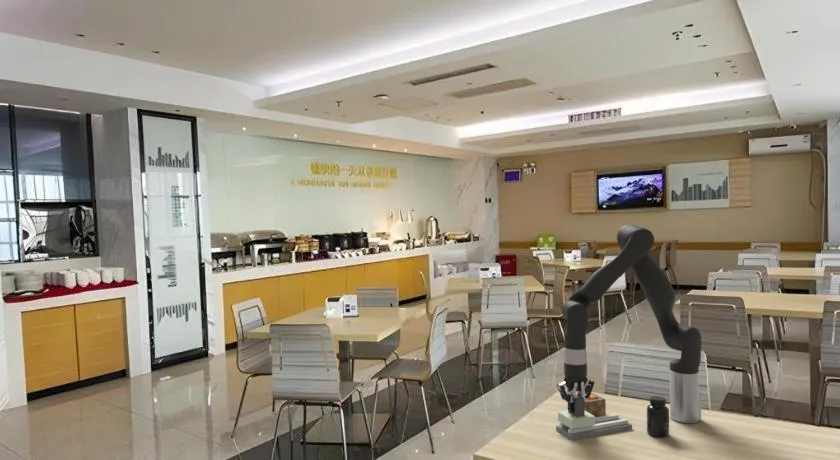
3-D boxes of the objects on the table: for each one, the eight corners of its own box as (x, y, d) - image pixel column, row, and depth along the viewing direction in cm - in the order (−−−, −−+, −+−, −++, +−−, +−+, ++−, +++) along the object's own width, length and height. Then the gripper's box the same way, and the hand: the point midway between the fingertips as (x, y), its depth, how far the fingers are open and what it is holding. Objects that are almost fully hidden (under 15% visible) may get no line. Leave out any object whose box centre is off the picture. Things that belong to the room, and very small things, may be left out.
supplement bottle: (671, 438, 178) (671, 402, 177) (649, 437, 179) (648, 401, 179) (666, 430, 184) (666, 395, 184) (645, 429, 186) (644, 394, 185)
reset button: (591, 404, 199) (591, 393, 199) (597, 408, 195) (597, 397, 195) (582, 406, 198) (582, 395, 198) (588, 409, 194) (588, 398, 194)
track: (614, 419, 195) (614, 412, 195) (632, 429, 186) (632, 421, 186) (556, 429, 187) (556, 422, 187) (571, 440, 178) (571, 431, 178)
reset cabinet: (593, 413, 201) (593, 393, 201) (605, 420, 195) (605, 399, 194) (573, 416, 198) (573, 396, 198) (585, 423, 192) (585, 402, 192)
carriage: (580, 416, 189) (580, 391, 189) (595, 425, 182) (594, 398, 182) (558, 420, 186) (557, 394, 186) (571, 429, 179) (571, 401, 179)
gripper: (586, 355, 189) (587, 405, 190) (550, 360, 185) (551, 411, 185) (600, 361, 182) (600, 412, 183) (563, 366, 178) (564, 418, 178)
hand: (576, 411), depth 184 cm, fingers closed on carriage, 3 cm apart
